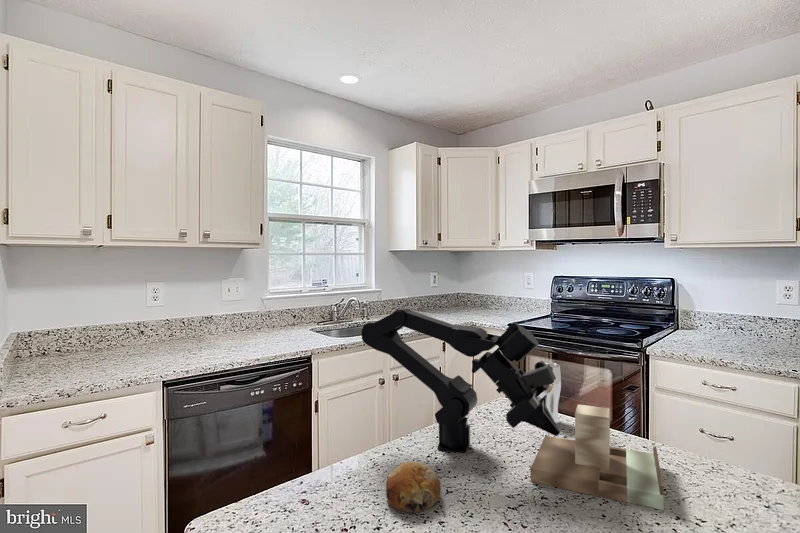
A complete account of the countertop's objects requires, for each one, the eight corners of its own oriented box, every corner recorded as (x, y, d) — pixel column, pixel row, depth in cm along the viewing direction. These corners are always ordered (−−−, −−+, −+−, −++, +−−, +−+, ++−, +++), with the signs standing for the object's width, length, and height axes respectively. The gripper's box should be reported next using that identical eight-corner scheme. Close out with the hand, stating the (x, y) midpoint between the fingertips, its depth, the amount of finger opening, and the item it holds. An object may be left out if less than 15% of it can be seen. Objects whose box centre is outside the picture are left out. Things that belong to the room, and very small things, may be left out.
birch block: (575, 463, 86) (575, 413, 86) (578, 451, 91) (577, 404, 91) (608, 470, 83) (608, 417, 83) (609, 457, 89) (609, 408, 89)
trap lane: (530, 481, 84) (530, 460, 84) (545, 446, 100) (545, 429, 100) (663, 510, 74) (663, 486, 74) (656, 466, 90) (656, 446, 90)
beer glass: (565, 425, 113) (564, 368, 113) (538, 425, 113) (537, 368, 113) (555, 416, 120) (555, 362, 120) (530, 416, 120) (530, 362, 120)
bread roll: (443, 513, 80) (447, 466, 83) (430, 518, 71) (435, 464, 74) (393, 504, 83) (398, 458, 86) (374, 507, 74) (381, 456, 77)
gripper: (522, 360, 84) (584, 426, 79) (538, 344, 101) (591, 398, 96) (482, 395, 88) (540, 461, 83) (505, 374, 105) (553, 427, 100)
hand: (558, 434), depth 90 cm, fingers closed
